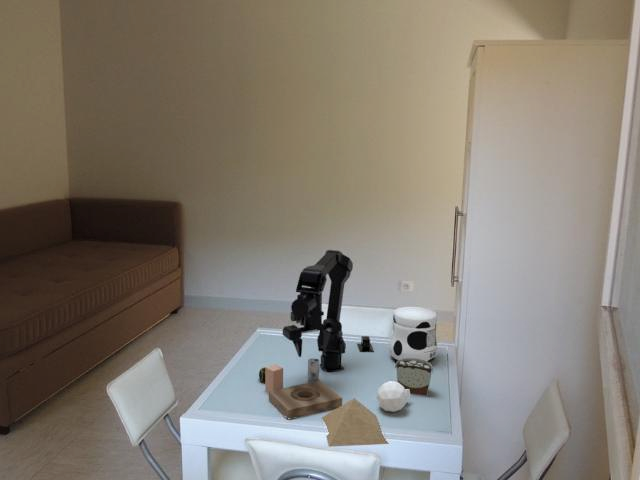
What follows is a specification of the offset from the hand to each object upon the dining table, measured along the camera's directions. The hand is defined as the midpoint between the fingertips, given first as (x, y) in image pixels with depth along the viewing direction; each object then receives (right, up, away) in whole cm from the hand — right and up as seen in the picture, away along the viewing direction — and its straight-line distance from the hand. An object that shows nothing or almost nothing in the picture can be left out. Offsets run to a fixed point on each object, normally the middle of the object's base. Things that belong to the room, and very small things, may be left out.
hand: (312, 354), depth 187 cm
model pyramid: (+12, -17, -24) cm, 32 cm away
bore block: (-2, -13, -9) cm, 16 cm away
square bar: (-12, -12, -1) cm, 17 cm away
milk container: (+37, -8, +28) cm, 47 cm away
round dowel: (0, -11, +5) cm, 12 cm away
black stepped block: (+20, -6, +39) cm, 44 cm away
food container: (+33, -12, +1) cm, 35 cm away
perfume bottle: (+25, -14, -12) cm, 31 cm away
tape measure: (-14, -10, +8) cm, 19 cm away
